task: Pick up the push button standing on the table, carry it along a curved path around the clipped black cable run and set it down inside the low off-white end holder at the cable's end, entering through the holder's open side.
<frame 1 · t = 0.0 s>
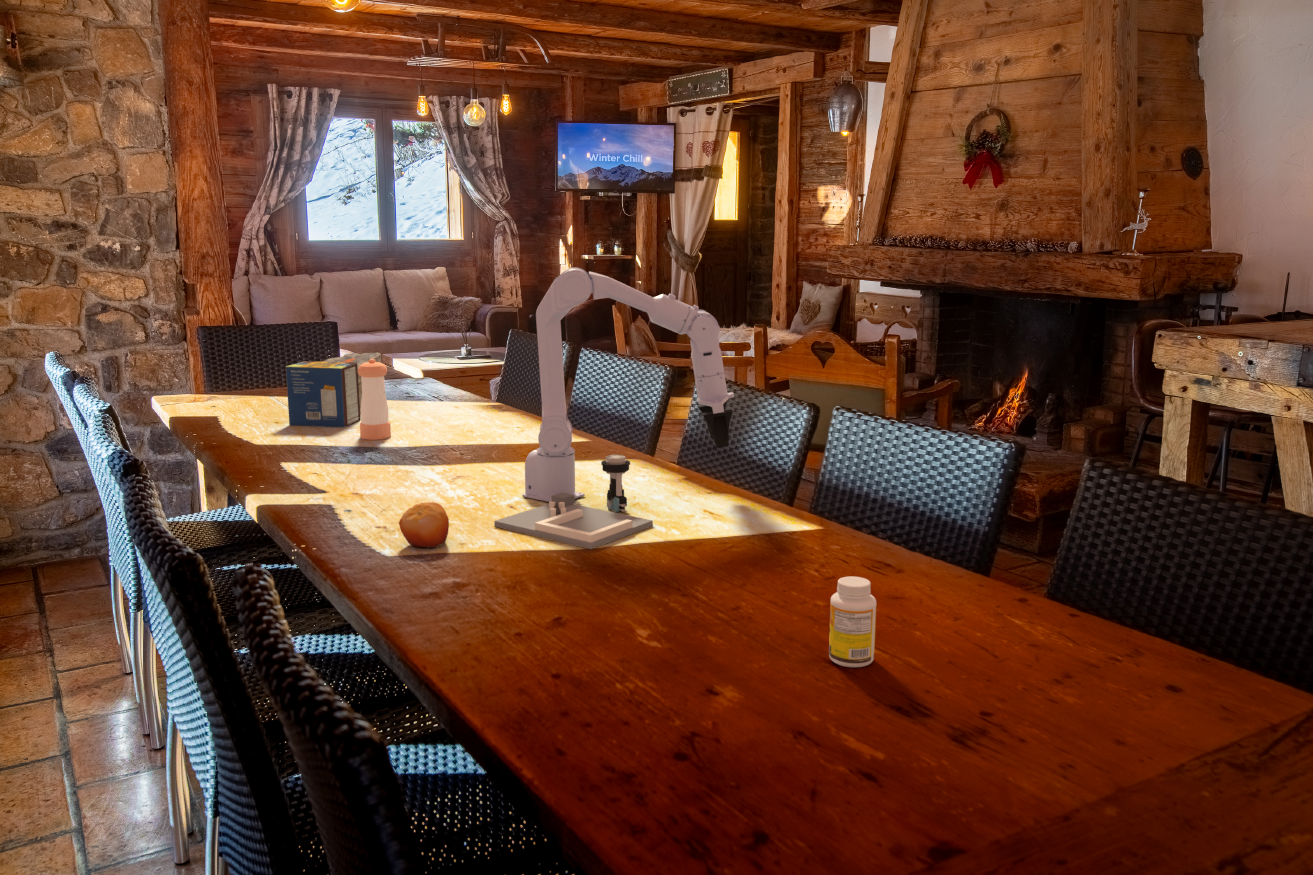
hand: (720, 442, 210), 11 cm above the table, tool pointing down, fingers open, 7 cm apart
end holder: (586, 527, 187), resting on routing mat
protein box: (325, 423, 284), on the table
supplement bottle: (850, 661, 134), on the table
salt shaker: (375, 437, 267), on the table
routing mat: (573, 526, 191), on the table
petrified wood: (348, 406, 309), on the table
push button: (617, 511, 202), on the table
fruit: (426, 546, 180), on the table
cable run: (561, 512, 196), resting on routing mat
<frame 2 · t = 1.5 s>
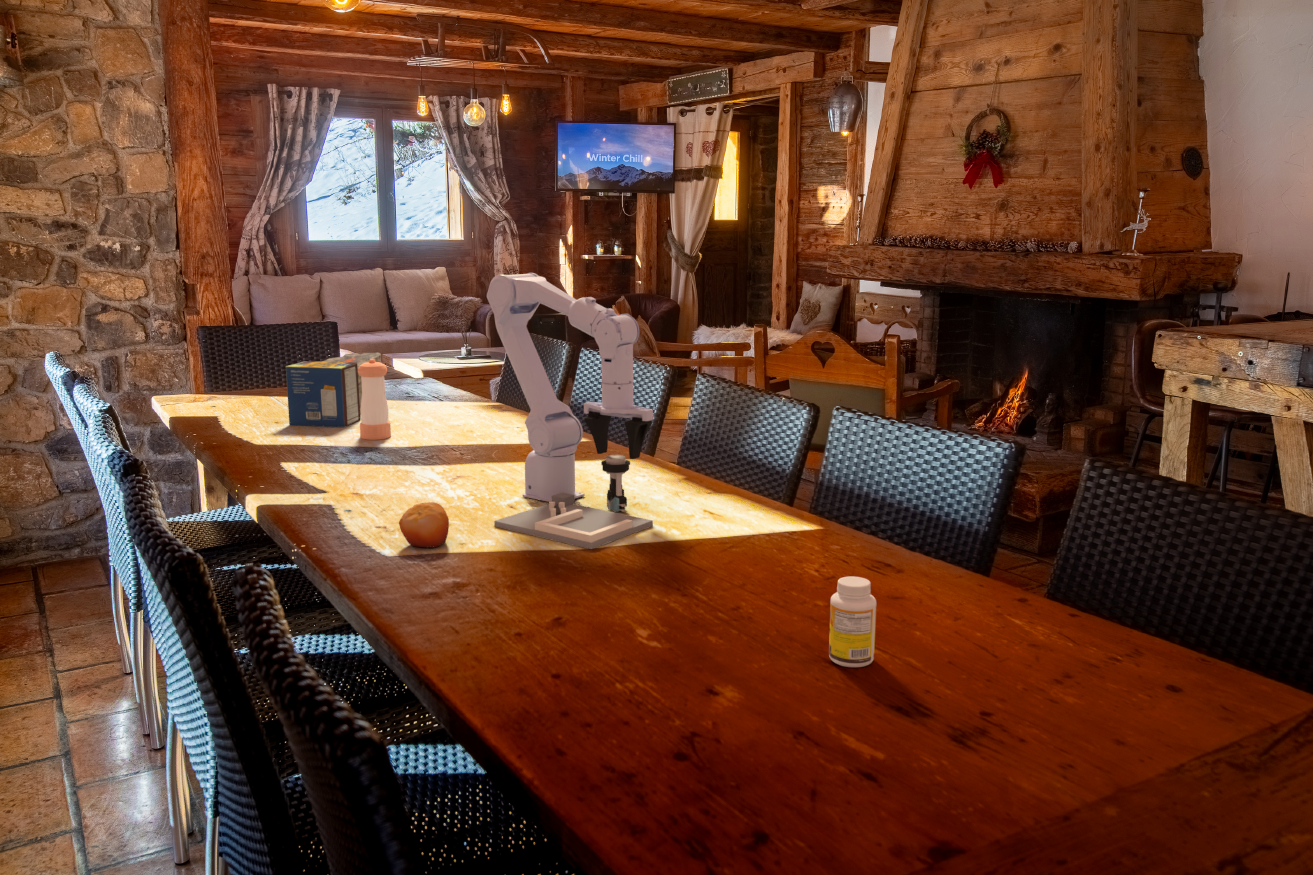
hand: (618, 455, 199), 10 cm above the table, tool pointing down, fingers open, 7 cm apart
nothing on the table moved.
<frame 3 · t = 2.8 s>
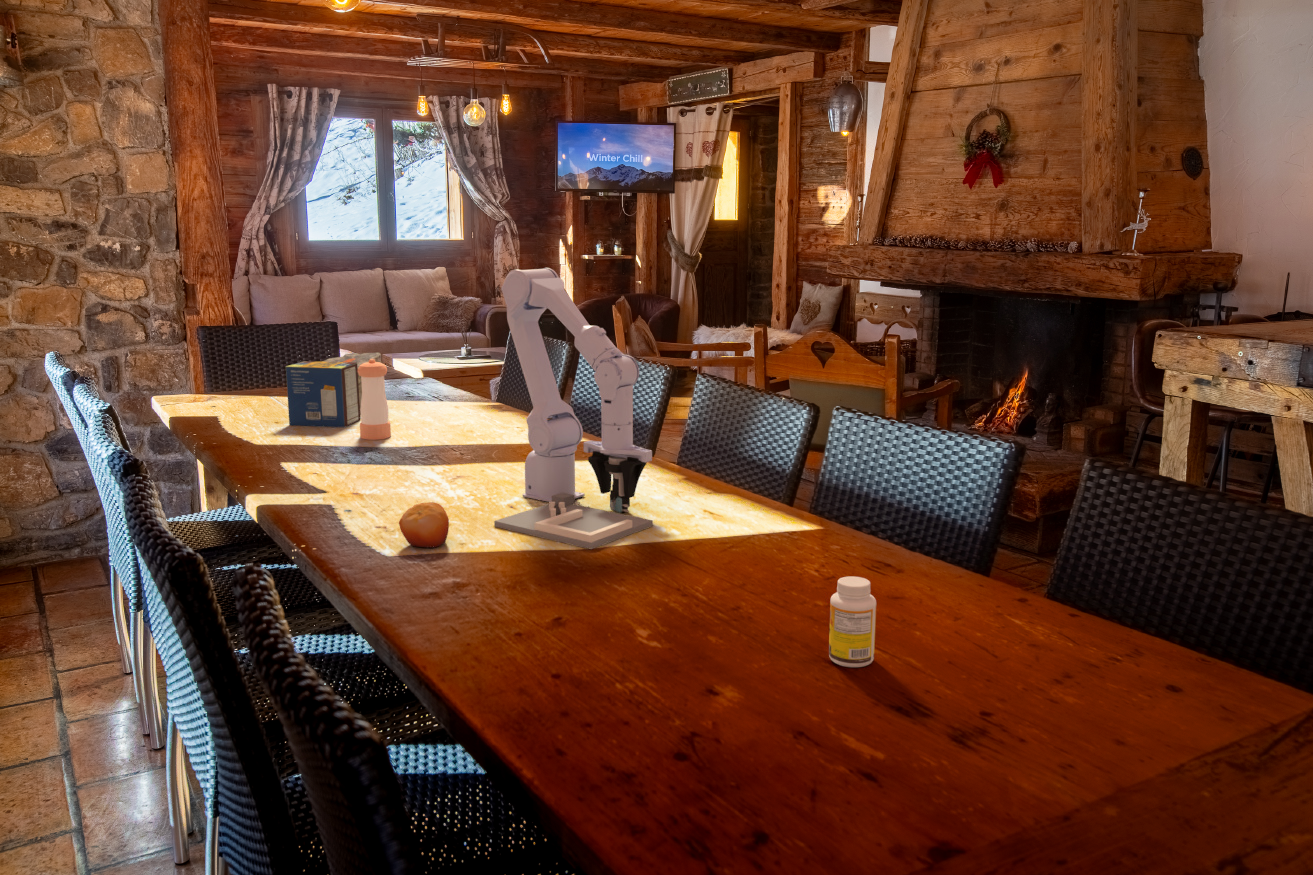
hand: (617, 494, 201), 3 cm above the table, tool pointing down, fingers closed on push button, 5 cm apart
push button: (620, 511, 201), on the table, touching gripper
everything else where it was.
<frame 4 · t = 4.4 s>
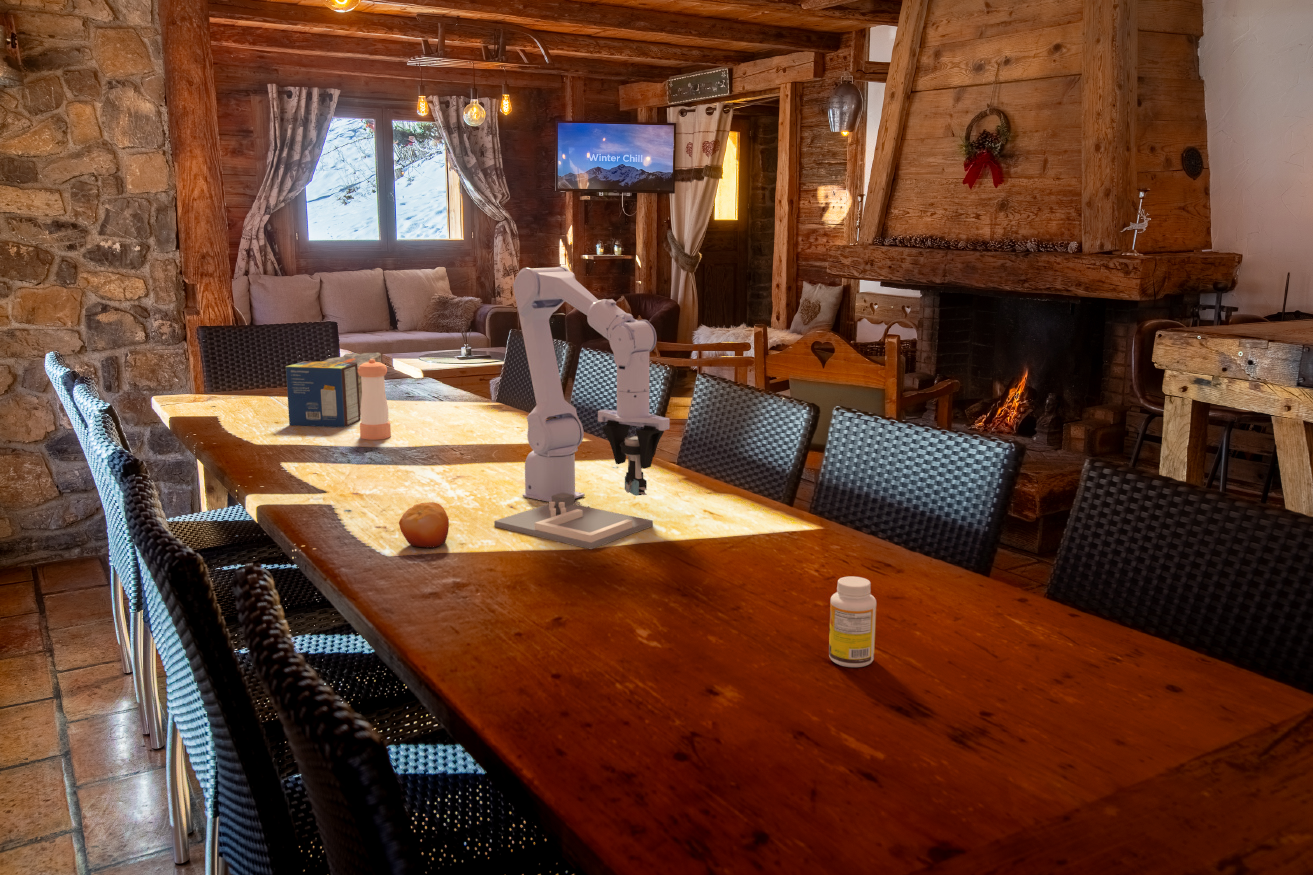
hand: (633, 465, 194), 10 cm above the table, tool pointing down, fingers closed on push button, 5 cm apart
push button: (636, 494, 195), point 5 cm above the table, touching gripper
everything else where it was.
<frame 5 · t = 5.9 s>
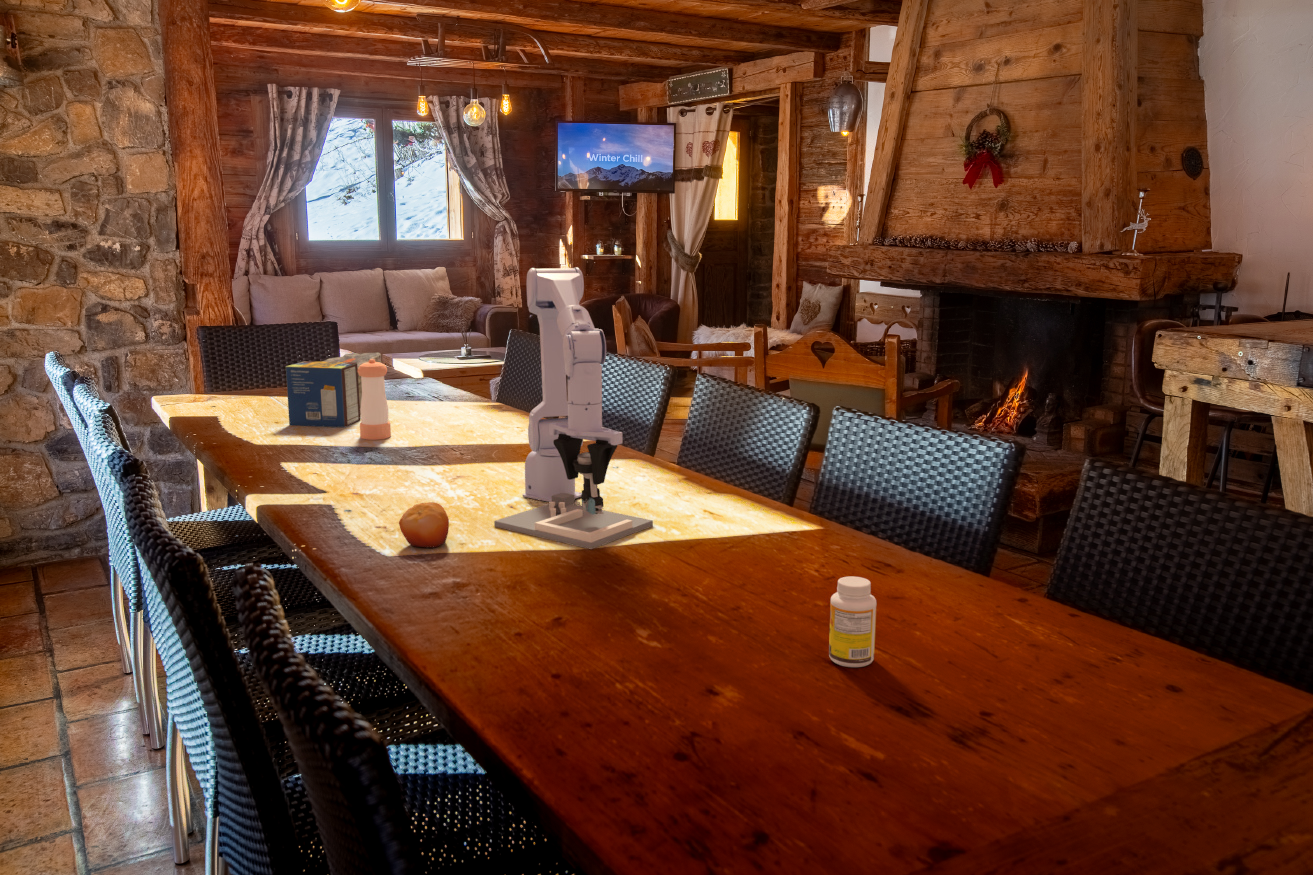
hand: (585, 480, 185), 9 cm above the table, tool pointing down, fingers closed on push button, 5 cm apart
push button: (593, 512, 187), point 3 cm above the table, touching gripper
everything else where it was.
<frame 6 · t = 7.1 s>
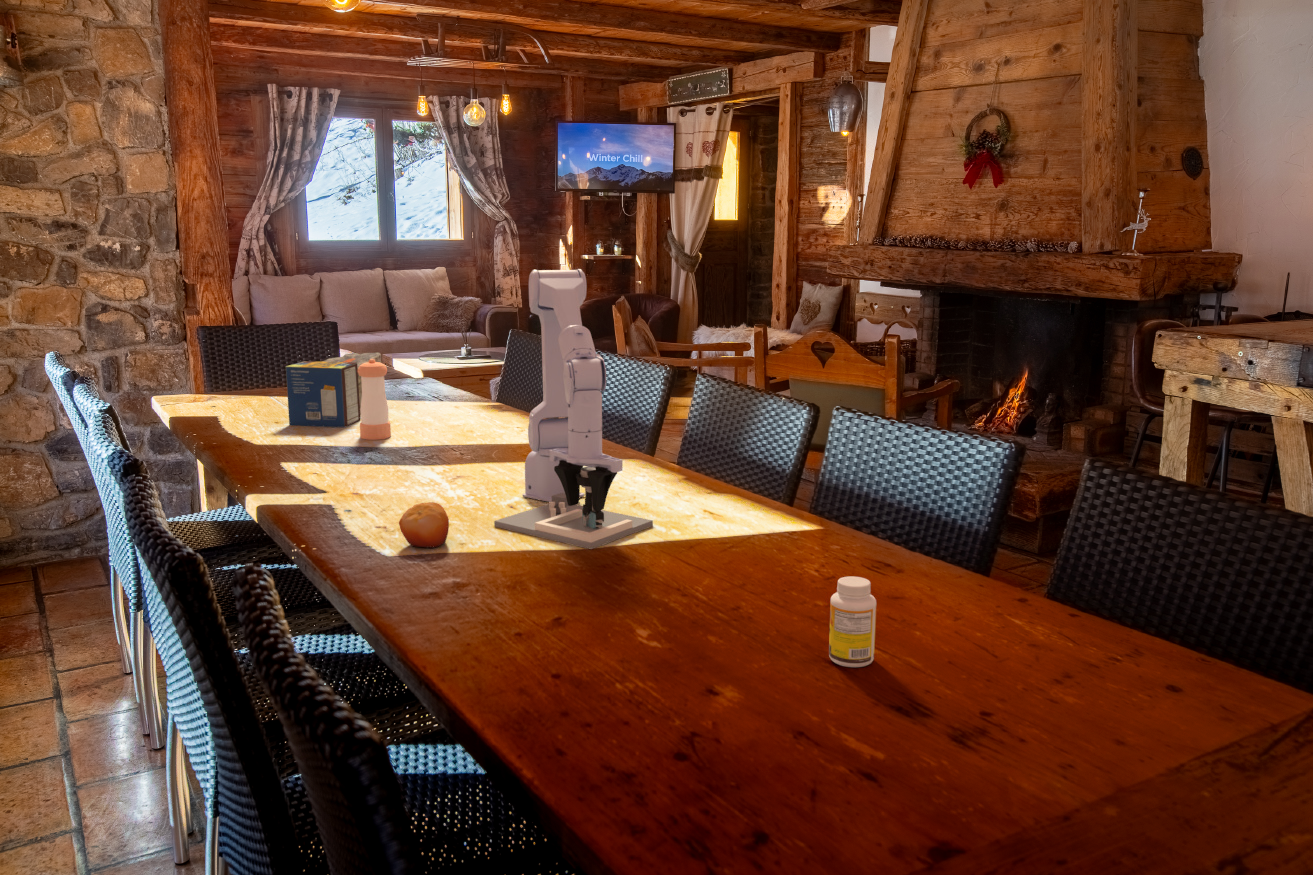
hand: (585, 507, 186), 5 cm above the table, tool pointing down, fingers closed on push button, 5 cm apart
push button: (593, 527, 187), point 1 cm above the table, touching gripper, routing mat
everything else where it was.
when the fingers open (5 cm above the table, at t = 7.2 s): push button stays where it is, resting on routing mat.
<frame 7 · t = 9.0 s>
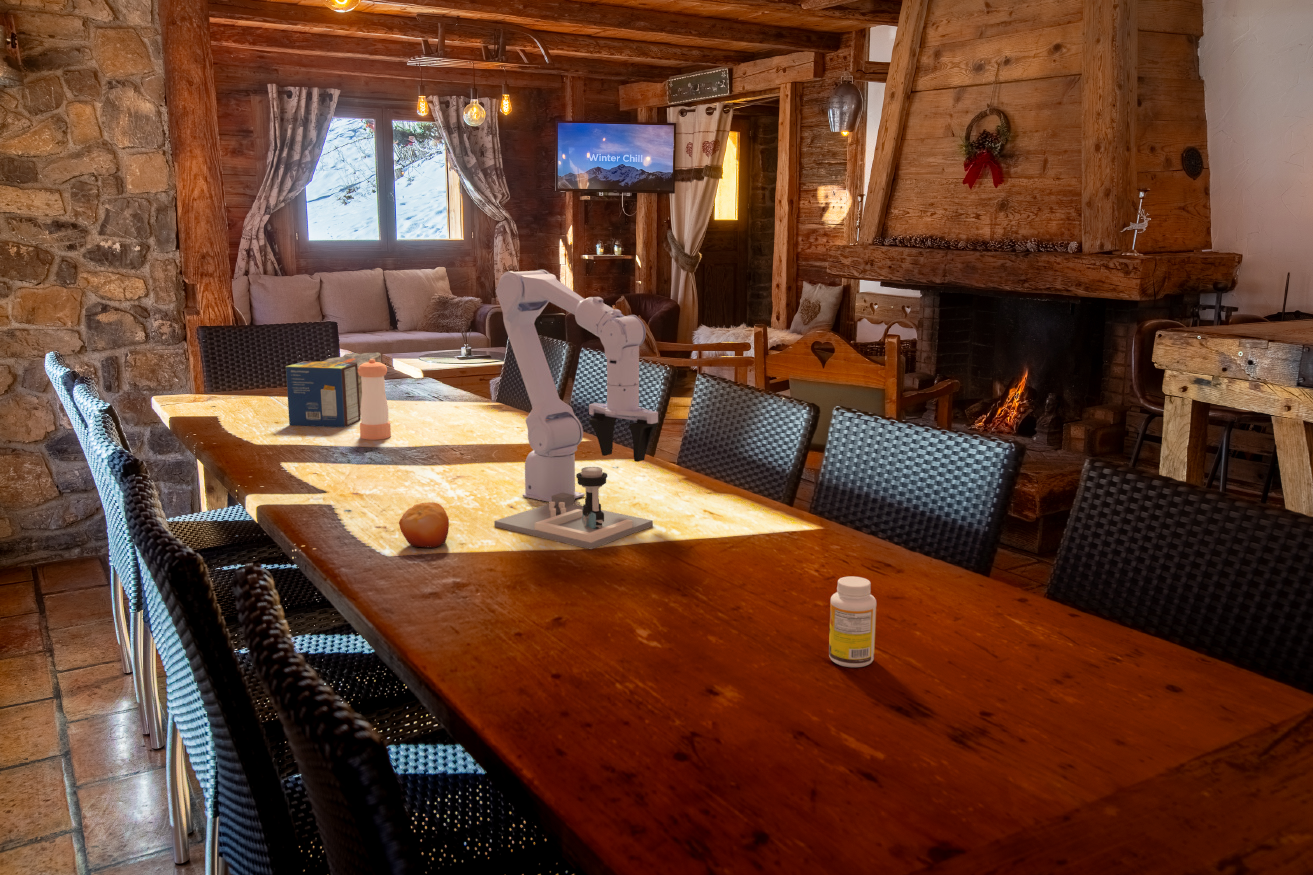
hand: (622, 457, 198), 10 cm above the table, tool pointing down, fingers open, 7 cm apart
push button: (593, 527, 187), point 1 cm above the table, touching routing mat
everything else where it was.
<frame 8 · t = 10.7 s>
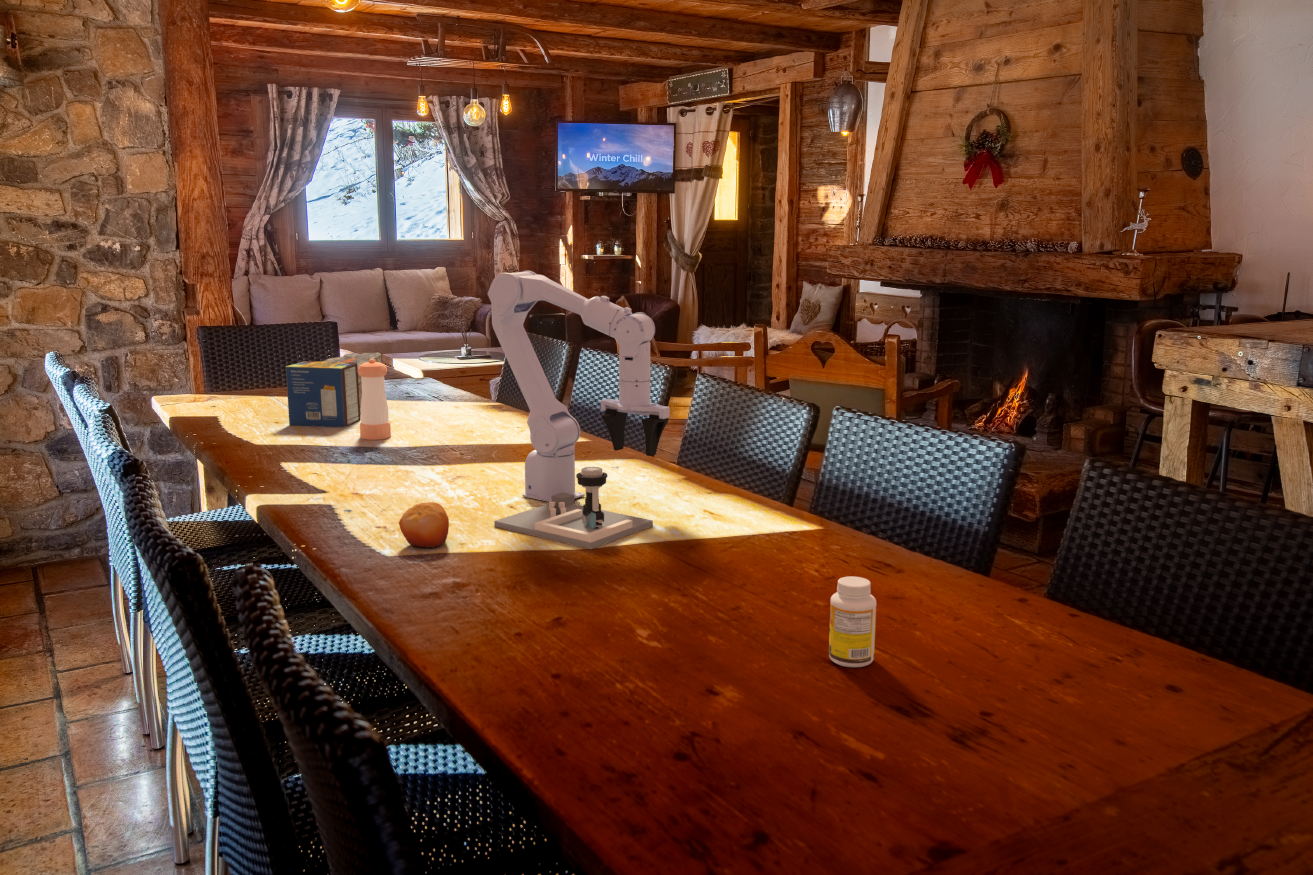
hand: (634, 452, 202), 10 cm above the table, tool pointing down, fingers open, 7 cm apart
nothing on the table moved.
at the end: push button inside the target area (1.5 cm from its centre), point 0.8 cm above the table; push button tilted 0°; the gripper is holding nothing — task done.
